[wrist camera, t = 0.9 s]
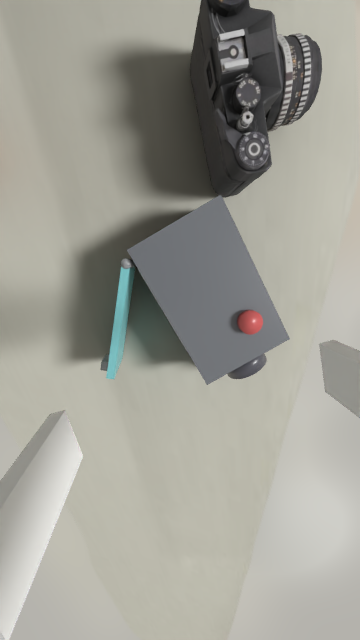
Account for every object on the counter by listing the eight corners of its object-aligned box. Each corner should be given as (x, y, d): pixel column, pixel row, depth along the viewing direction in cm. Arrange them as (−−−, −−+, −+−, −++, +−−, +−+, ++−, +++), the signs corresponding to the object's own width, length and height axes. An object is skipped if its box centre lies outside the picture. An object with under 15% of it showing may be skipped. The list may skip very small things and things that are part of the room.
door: (121, 257, 30) (111, 255, 24) (137, 260, 30) (131, 259, 24) (108, 356, 32) (96, 376, 26) (123, 358, 32) (114, 379, 27)
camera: (298, 179, 30) (364, 138, 20) (210, 203, 30) (234, 174, 20) (277, 36, 27) (344, -94, 17) (178, 62, 27) (189, -55, 17)
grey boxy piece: (132, 254, 30) (123, 251, 23) (206, 210, 30) (222, 192, 22) (204, 376, 34) (217, 407, 27) (271, 339, 34) (302, 360, 26)
